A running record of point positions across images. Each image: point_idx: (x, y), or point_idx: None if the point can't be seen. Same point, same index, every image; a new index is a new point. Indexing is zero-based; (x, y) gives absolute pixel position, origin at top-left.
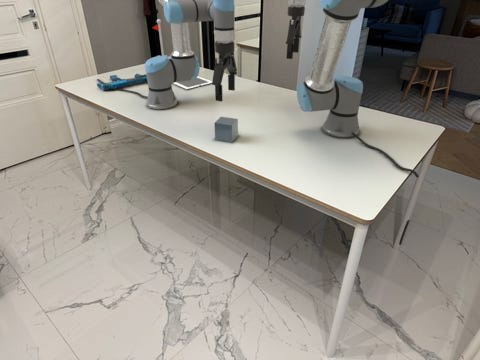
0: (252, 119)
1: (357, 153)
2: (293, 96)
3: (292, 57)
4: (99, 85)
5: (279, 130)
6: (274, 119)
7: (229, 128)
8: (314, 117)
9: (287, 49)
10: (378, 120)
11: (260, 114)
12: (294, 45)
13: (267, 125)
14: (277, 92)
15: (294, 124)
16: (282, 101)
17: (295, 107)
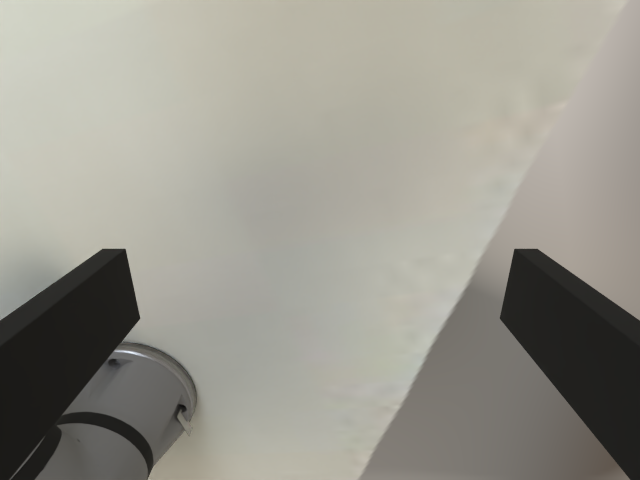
0: (38, 22)
1: None
2: (462, 158)
3: (126, 327)
4: None
5: (4, 194)
6: (103, 140)
7: None
8: (214, 299)
9: (8, 324)
10: (280, 477)
11: (126, 46)
12: (570, 321)
13: (18, 127)
14: (520, 42)
15: (100, 239)
16: (365, 116)
17: (299, 203)
